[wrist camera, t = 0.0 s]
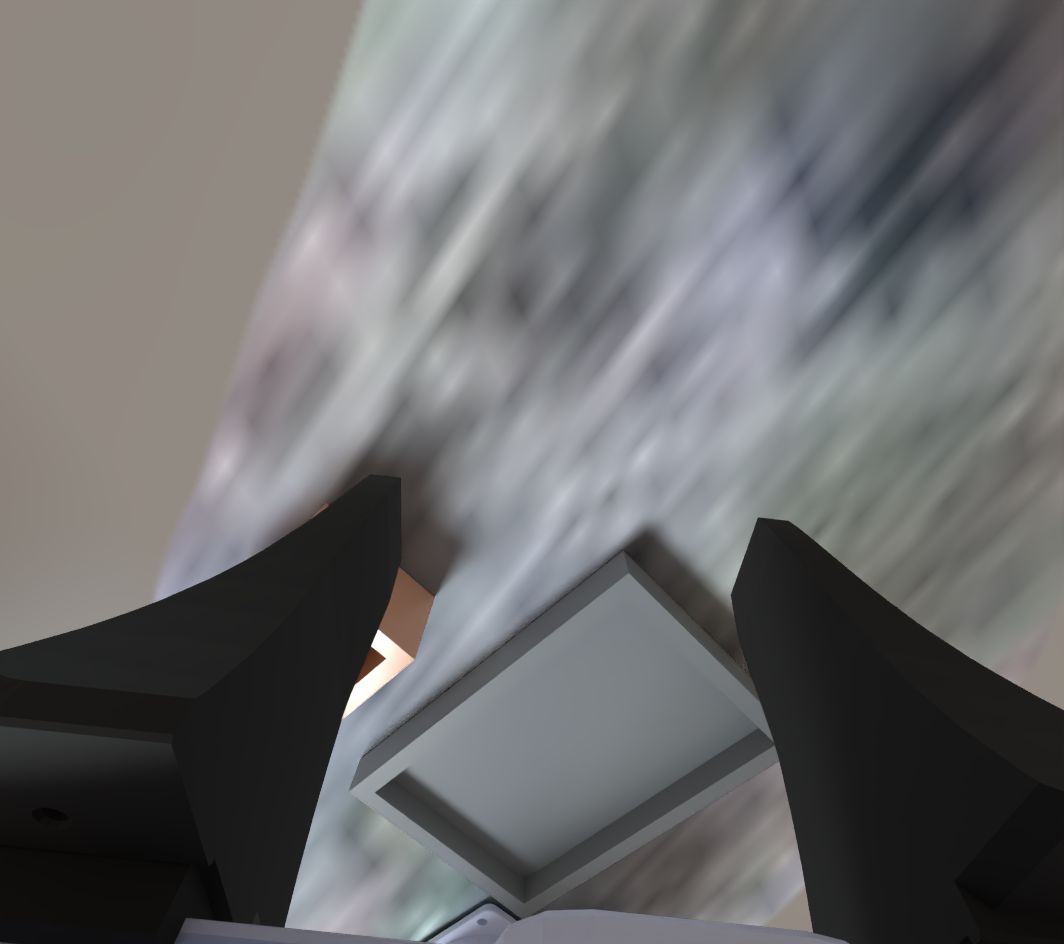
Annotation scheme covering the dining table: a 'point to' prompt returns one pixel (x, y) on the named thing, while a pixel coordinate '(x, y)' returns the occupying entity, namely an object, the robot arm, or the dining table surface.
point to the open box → (392, 637)
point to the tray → (572, 743)
